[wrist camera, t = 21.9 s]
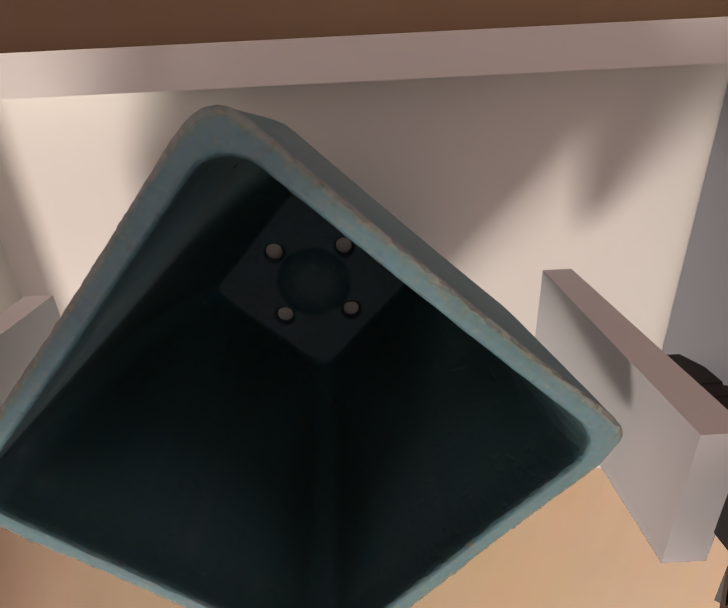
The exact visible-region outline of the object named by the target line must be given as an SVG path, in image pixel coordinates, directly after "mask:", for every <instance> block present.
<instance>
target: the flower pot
mask: <svg viewBox="0 0 728 608" xmlns="http://www.w3.org/2000/svg"><path fill="white" fill-rule="evenodd" d="M343 237H344V238H347V239H349V240H350V242H351V244H352V247H351V249H350V250H349V251H348V252H340V251H339V250H338V249H337V248H336V242H337V240H338V239H340V238H343ZM270 244H277V245H279V246H280V247H281V248H282V256H281V257H280V258H278V259H272V258H270V257H269V256H268V255H267V253H266V248H267V246H268V245H270ZM347 302H356V303H357V304H358V311H357V312H356V313H354V314H348V313H346V312H345V311H344V305H345V304H346V303H347ZM284 307H287V308H290V309H291V310H292V312H293V316H292V318H291V319H289V320H283V319H281V318H280V317H279V316H278V310H279V309H281V308H284ZM622 436H623V433H622V427H621V425H620V424H619V423H618V422H617V420H616V419H615V418H614V417H613V415H612V414H611V413H609V412H608V411H607V410H606V409H605V408H604V407H603V406H602V405H601V404H600V403H599V402H598V401H597V399H596V398H595V397H594V396H593V395H592V394H591V393H590V392H589V391H588V390H587V389H586V388H585V387H584V386H583V385H582V384H581V383H580V382H579V381H578V380H577V379H576V378H575V377H574V376H573V375H572V374H571V373H570V372H569V371H568V370H567V369H566V368H565V367H564V366H563V365H562V364H561V363H560V362H559V361H558V360H557V359H556V358H555V357H554V356H553V355H552V354H551V353H550V352H549V351H548V350H547V349H546V348H545V347H544V346H543V345H542V344H541V343H540V342H539V341H538V340H537V339H536V338H535V337H534V336H533V335H532V334H531V333H530V332H529V331H528V330H527V329H526V328H525V327H524V326H523V324H521V323H520V322H519V321H518V320H517V319H516V318H515V317H514V316H513V315H512V314H511V313H510V312H509V311H508V310H507V309H506V308H505V307H504V306H503V305H501V304H500V303H499V302H498V301H496V300H495V299H494V298H493V297H492V296H490V295H489V294H488V293H487V292H485V291H484V290H483V289H482V288H480V287H479V286H478V285H477V284H476V283H474V282H473V281H472V280H471V279H470V278H468V277H467V276H466V275H465V274H463V273H462V272H461V271H460V270H459V269H457V268H456V267H455V266H454V265H452V264H451V263H450V262H449V261H448V260H446V259H445V258H444V257H443V256H442V255H440V254H439V253H438V252H437V251H436V250H434V249H433V248H432V247H431V246H430V245H428V244H427V243H426V242H425V241H424V240H422V239H421V238H420V237H419V236H417V235H416V234H415V233H414V232H413V231H411V230H410V229H409V228H408V227H407V226H405V225H404V224H403V223H402V222H401V221H400V220H398V219H397V218H396V217H395V216H394V215H392V214H391V213H390V212H389V211H388V210H386V209H385V208H384V207H383V206H382V205H380V204H379V203H378V202H377V201H376V200H374V199H373V198H372V197H371V196H370V195H369V194H367V193H366V192H365V191H364V190H363V189H361V188H360V187H359V186H358V185H357V184H356V183H354V182H353V181H352V180H351V179H350V178H349V177H347V176H346V175H345V174H344V173H343V172H341V171H340V170H339V169H338V168H337V167H336V166H334V165H333V164H332V163H331V162H330V161H328V160H327V159H326V158H325V157H324V156H323V155H321V154H320V153H319V152H318V151H317V150H316V149H314V148H313V147H312V146H311V145H310V144H308V143H307V142H306V141H305V140H304V139H303V138H302V137H300V136H299V135H298V134H297V133H296V132H295V131H293V130H292V129H291V128H289V127H288V126H286V125H285V124H283V123H281V122H278V121H275V120H273V119H270V118H266V117H263V116H259V115H255V114H251V113H247V112H243V111H240V110H236V109H233V108H231V107H228V106H222V105H212V106H206V107H203V108H201V109H200V110H198V111H197V112H195V113H194V114H192V115H191V116H190V117H189V118H188V119H187V120H186V121H185V122H184V123H183V124H182V125H181V127H180V128H179V130H178V131H177V133H176V134H175V135H174V136H173V138H172V139H171V140H170V142H169V143H168V145H167V147H166V149H165V150H164V151H163V153H162V154H161V156H160V158H159V160H158V162H157V163H156V165H155V167H154V168H153V170H152V172H151V173H150V175H149V176H148V178H147V179H146V181H145V182H144V184H143V186H142V187H141V189H140V191H139V192H138V194H137V196H136V198H135V199H134V201H133V202H132V203H131V205H130V207H129V209H128V211H127V212H126V213H125V214H124V216H123V218H122V220H121V221H120V222H119V224H118V226H117V228H116V230H115V232H114V233H113V235H112V236H111V238H110V240H109V241H108V243H107V245H106V246H105V248H104V249H103V251H102V253H101V254H100V255H99V256H98V258H97V260H96V262H95V263H94V265H93V266H92V267H91V270H90V272H89V273H88V275H87V276H86V277H85V279H84V280H83V282H82V284H81V287H80V288H79V289H78V291H77V292H76V293H75V294H74V296H73V298H72V299H71V301H70V303H69V304H68V306H67V307H66V309H65V310H64V312H63V314H62V316H61V317H60V319H59V320H58V321H57V323H56V324H55V325H54V327H53V329H52V331H51V333H50V334H49V336H48V337H47V339H46V340H45V341H44V343H43V344H42V346H41V347H40V349H39V350H38V352H37V354H36V355H35V357H34V358H33V359H32V360H31V362H30V363H29V364H28V366H27V367H26V369H25V371H24V372H23V374H22V376H21V377H20V379H19V380H18V381H17V383H16V384H15V386H14V387H13V389H12V390H11V391H10V393H9V395H8V397H7V398H6V399H5V401H4V403H3V404H2V405H1V407H0V527H1V528H4V529H7V530H9V531H11V532H13V533H14V534H18V535H20V536H21V537H23V538H24V539H26V540H28V541H29V542H32V543H37V544H40V545H42V546H43V547H45V548H47V549H49V550H51V551H54V552H56V553H59V554H62V555H64V556H67V557H69V558H74V559H76V560H79V561H81V562H83V563H85V564H87V565H89V566H92V567H94V568H97V569H99V570H102V571H104V572H107V573H109V574H111V575H113V576H115V577H117V578H119V579H121V580H124V581H126V582H129V583H131V584H133V585H135V586H137V587H140V588H142V589H145V590H148V591H149V592H151V593H153V594H155V595H157V596H160V597H162V598H165V599H167V600H169V601H171V602H173V603H176V604H178V605H181V606H184V607H186V608H410V607H412V606H413V604H414V603H416V602H418V601H419V600H420V599H422V598H423V597H424V596H425V595H427V594H428V593H429V592H431V591H432V590H433V589H434V588H436V587H437V586H439V585H440V584H442V583H443V582H444V581H445V580H446V579H447V578H448V577H450V576H451V575H454V574H455V573H456V572H457V571H458V570H460V569H461V568H462V567H464V566H465V565H466V564H467V562H469V561H470V560H471V559H473V558H474V557H475V556H477V555H478V554H479V553H480V552H482V551H483V550H485V549H486V548H487V547H488V546H489V545H490V544H492V543H493V542H495V541H496V540H497V539H499V538H500V537H501V536H503V535H504V534H505V533H507V532H508V531H509V530H510V529H513V528H515V527H516V526H517V525H518V524H520V523H521V522H522V521H523V520H525V519H526V518H527V517H529V516H530V515H532V514H533V513H534V512H535V511H537V510H538V509H540V508H541V507H543V506H544V505H545V504H546V503H547V502H548V501H550V500H552V499H553V498H554V497H556V496H557V495H559V494H560V493H562V492H563V491H564V490H566V489H567V488H569V487H570V486H572V485H573V484H574V483H576V482H577V481H578V480H580V479H581V478H583V477H584V476H585V475H587V474H588V473H589V472H590V471H591V470H593V469H594V468H596V467H597V466H599V465H600V464H601V463H602V461H603V460H604V459H605V458H606V457H607V456H608V455H609V454H610V452H611V451H612V450H613V449H614V448H615V447H616V446H617V445H618V444H619V442H620V440H621V438H622Z"/></svg>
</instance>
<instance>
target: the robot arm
mask: <svg viewBox="0 0 728 608" xmlns="http://www.w3.org/2000/svg"><path fill="white" fill-rule="evenodd" d="M59 319H60V314H59V311H58V308H57V305H56V302H55V299H54V297H53V295H46V296H27V297H23V298H22V299H20V300H19V301H17V302H16V303H14V304H13V305H12V306H10V307H9V308H7V309H6V310H4V311H3V312H1V313H0V407H1V405H2V404H3V403H4V401H5V399H6V398H7V397H8V395H9V393H10V391H11V390H12V389H13V387H14V386H15V384H16V383H17V381H18V380H19V379H20V377H21V376H22V374H23V372H24V371H25V369H26V367H27V366H28V364H29V363H30V362H31V360H32V359H33V358H34V357H35V355H36V354H37V352H38V350H39V349H40V347H41V346H42V344H43V343H44V341H45V340H46V339H47V337H48V336H49V334H50V333H51V331H52V329H53V327H54V325H55V324H56V323H57V321H58V320H59ZM535 338H536V339H537V340H538V341H539V342H540V343H541V344H542V345H543V346H544V347H545V348H546V349H547V350H548V351H549V352H550V353H551V354H552V355H553V356H554V357H555V358H556V359H557V360H558V361H559V362H560V363H561V364H562V365H563V366H564V367H565V368H566V369H567V370H568V371H569V372H570V373H571V374H572V375H573V376H574V377H575V378H576V379H577V380H578V381H579V382H580V383H581V384H582V385H583V386H584V387H585V388H586V389H587V390H588V391H589V392H590V393H591V394H592V395H593V396H594V397H595V398H596V399H597V401H598V402H599V403H600V404H601V405H602V406H603V407H604V408H605V409H606V410H607V411H608V412H609V413H611V414H612V415H613V417H614V418H615V419H616V420H617V422H618V423H619V424H620V425H621V427H622V433H623V436H622V438H621V440H620V442H619V444H618V445H617V446H616V447H615V448H614V449H613V450H612V451H611V452H610V454H609V455H608V456H607V457H606V458H605V459H604V460H603V461H602V463H601V464H600V466H601V468H602V470H603V471H604V473H605V474H606V476H607V478H608V479H609V481H610V482H611V484H612V486H613V487H614V489H615V490H616V492H617V493H618V495H619V497H620V498H621V500H622V501H623V503H624V505H625V506H626V508H627V509H628V511H629V513H630V514H631V516H632V517H633V519H634V521H635V522H636V524H637V525H638V527H639V528H640V530H641V532H642V533H643V535H644V536H645V538H646V540H647V541H648V543H649V544H650V546H651V548H652V549H653V551H654V552H655V554H656V556H657V557H658V559H659V560H660V562H661V563H670V562H690V561H706V559H707V557H708V554H709V551H710V548H711V546H712V543H713V540H714V537H715V535H716V536H717V537H718V539H719V540H720V541H721V542H722V544H723V545H724V546H725V547H726V549H727V550H728V386H727V385H723V382H722V381H721V380H720V379H719V378H717V377H716V376H715V375H714V374H713V373H712V372H710V371H709V370H708V369H707V368H706V367H704V366H702V365H700V364H698V363H696V362H694V361H692V360H690V359H688V358H686V357H684V356H682V355H680V354H671V355H666V354H665V353H664V352H663V351H662V350H661V349H660V348H659V347H658V346H657V345H655V344H654V343H653V342H652V341H651V340H650V339H649V338H648V337H647V336H645V335H644V334H643V333H642V332H641V331H640V330H639V329H638V328H637V327H635V326H634V325H633V324H632V323H631V322H630V321H629V320H628V319H627V318H625V317H624V316H623V315H622V314H621V313H620V312H619V311H618V310H617V309H616V308H614V307H613V306H612V305H611V304H610V303H609V302H608V301H607V300H606V299H604V298H603V297H602V296H601V295H600V294H599V293H598V292H597V291H596V290H594V289H593V288H592V287H591V286H590V285H589V284H588V283H587V282H586V281H584V280H583V279H582V278H581V277H580V276H579V275H578V274H577V273H576V272H575V271H573V270H572V269H555V270H543V273H542V282H541V290H540V299H539V307H538V316H537V325H536V333H535ZM714 600H715V601H717V602H719V603H720V608H728V566H727V569H726V571H725V574H724V576H723V579H722V582H721V584H720V587H719V589H718V592H717V594H716V597H715V599H714Z"/></svg>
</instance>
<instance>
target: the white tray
mask: <svg viewBox="0 0 728 608" xmlns="http://www.w3.org/2000/svg"><path fill="white" fill-rule="evenodd" d="M727 85H728V17H708V18H688V19H668V20H649V21H629V22H609V23H589V24H570V25H550V26H530V27H511V28H491V29H471V30H451V31H432V32H412V33H392V34H373V35H353V36H333V37H313V38H294V39H274V40H254V41H235V42H215V43H195V44H175V45H156V46H136V47H116V48H96V49H77V50H57V51H37V52H18V53H0V313H1V312H3V311H4V310H6V309H7V308H9V307H10V306H12V305H13V304H14V303H16V302H17V301H19V300H20V299H22V298H23V297H27V296H46V295H53V297H54V299H55V302H56V305H57V308H58V311H59V314H60V317H61V316H62V314H63V312H64V310H65V309H66V307H67V306H68V304H69V303H70V301H71V299H72V298H73V296H74V294H75V293H76V292H77V291H78V289H79V288H80V287H81V284H82V282H83V280H84V279H85V277H86V276H87V275H88V273H89V272H90V270H91V267H92V266H93V265H94V263H95V262H96V260H97V258H98V256H99V255H100V254H101V253H102V251H103V249H104V248H105V246H106V245H107V243H108V241H109V240H110V238H111V236H112V235H113V233H114V232H115V230H116V228H117V226H118V224H119V222H120V221H121V220H122V218H123V216H124V214H125V213H126V212H127V211H128V209H129V207H130V205H131V203H132V202H133V201H134V199H135V198H136V196H137V194H138V192H139V191H140V189H141V187H142V186H143V184H144V182H145V181H146V179H147V178H148V176H149V175H150V173H151V172H152V170H153V168H154V167H155V165H156V163H157V162H158V160H159V158H160V156H161V154H162V153H163V151H164V150H165V149H166V147H167V145H168V143H169V142H170V140H171V139H172V138H173V136H174V135H175V134H176V133H177V131H178V130H179V128H180V127H181V125H182V124H183V123H184V122H185V121H186V120H187V119H188V118H189V117H190V116H191V115H192V114H194V113H195V112H197V111H198V110H200V109H201V108H203V107H206V106H212V105H222V106H228V107H231V108H233V109H236V110H240V111H243V112H247V113H251V114H255V115H259V116H263V117H266V118H270V119H273V120H275V121H278V122H281V123H283V124H285V125H286V126H288V127H289V128H291V129H292V130H293V131H295V132H296V133H297V134H298V135H299V136H300V137H302V138H303V139H304V140H305V141H306V142H307V143H308V144H310V145H311V146H312V147H313V148H314V149H316V150H317V151H318V152H319V153H320V154H321V155H323V156H324V157H325V158H326V159H327V160H328V161H330V162H331V163H332V164H333V165H334V166H336V167H337V168H338V169H339V170H340V171H341V172H343V173H344V174H345V175H346V176H347V177H349V178H350V179H351V180H352V181H353V182H354V183H356V184H357V185H358V186H359V187H360V188H361V189H363V190H364V191H365V192H366V193H367V194H369V195H370V196H371V197H372V198H373V199H374V200H376V201H377V202H378V203H379V204H380V205H382V206H383V207H384V208H385V209H386V210H388V211H389V212H390V213H391V214H392V215H394V216H395V217H396V218H397V219H398V220H400V221H401V222H402V223H403V224H404V225H405V226H407V227H408V228H409V229H410V230H411V231H413V232H414V233H415V234H416V235H417V236H419V237H420V238H421V239H422V240H424V241H425V242H426V243H427V244H428V245H430V246H431V247H432V248H433V249H434V250H436V251H437V252H438V253H439V254H440V255H442V256H443V257H444V258H445V259H446V260H448V261H449V262H450V263H451V264H452V265H454V266H455V267H456V268H457V269H459V270H460V271H461V272H462V273H463V274H465V275H466V276H467V277H468V278H470V279H471V280H472V281H473V282H474V283H476V284H477V285H478V286H479V287H480V288H482V289H483V290H484V291H485V292H487V293H488V294H489V295H490V296H492V297H493V298H494V299H495V300H496V301H498V302H499V303H500V304H501V305H503V306H504V307H505V308H506V309H507V310H508V311H509V312H510V313H511V314H512V315H513V316H514V317H515V318H516V319H517V320H518V321H519V322H520V323H521V324H523V326H524V327H525V328H526V329H527V330H528V331H529V332H530V333H531V334H532V335H533V336H534V337H535V333H536V325H537V316H538V307H539V299H540V290H541V282H542V273H543V270H555V269H572V270H573V271H575V272H576V273H577V274H578V275H579V276H580V277H581V278H582V279H583V280H584V281H586V282H587V283H588V284H589V285H590V286H591V287H592V288H593V289H594V290H596V291H597V292H598V293H599V294H600V295H601V296H602V297H603V298H604V299H606V300H607V301H608V302H609V303H610V304H611V305H612V306H613V307H614V308H616V309H617V310H618V311H619V312H620V313H621V314H622V315H623V316H624V317H625V318H627V319H628V320H629V321H630V322H631V323H632V324H633V325H634V326H635V327H637V328H638V329H639V330H640V331H641V332H642V333H643V334H644V335H645V336H647V337H648V338H649V339H650V340H651V341H652V342H653V343H654V344H655V345H657V346H658V347H659V348H660V349H661V350H663V346H664V342H665V338H666V334H667V330H668V325H669V321H670V317H671V313H672V309H673V305H674V301H675V297H676V293H677V289H678V285H679V281H680V277H681V273H682V268H683V264H684V260H685V256H686V252H687V248H688V244H689V240H690V236H691V232H692V228H693V224H694V220H695V216H696V211H697V207H698V203H699V199H700V195H701V191H702V187H703V183H704V179H705V175H706V171H707V167H708V163H709V159H710V154H711V150H712V146H713V142H714V138H715V134H716V130H717V126H718V122H719V118H720V114H721V110H722V106H723V102H724V97H725V93H726V89H727ZM351 247H352V244H351V242H350V240H349V239H347V238H344V237H343V238H340V239H338V240H337V242H336V248H337V249H338V250H339V251H340V252H348V251H349V250H350V249H351ZM266 253H267V255H268V256H269V257H270V258H272V259H278V258H280V257H281V256H282V248H281V247H280V246H279V245H277V244H270V245H268V246H267V248H266ZM344 311H345V312H346V313H348V314H354V313H356V312H357V311H358V304H357V303H356V302H347V303H346V304H345V305H344ZM278 316H279V317H280V318H281V319H283V320H289V319H291V318H292V316H293V312H292V310H291V309H290V308H287V307H284V308H281V309H279V310H278ZM596 468H601V466H600V465H599V466H597V467H596Z"/></svg>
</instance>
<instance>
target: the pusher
mask: <svg viewBox="0 0 728 608" xmlns="http://www.w3.org/2000/svg"><path fill="white" fill-rule="evenodd" d="M662 351H663V352H664V353H665V354H666V355H671V354H680V355H682V356H684V357H686V358H688V359H690V360H692V361H694V362H696V363H698V364H700V365H702V366H704V367H706V368H707V369H708V370H709V371H710V372H712V373H713V374H714V375H715V376H716V377H717V378H719V379H720V380H721V381H722V382H723V385H727V386H728V85H727V89H726V93H725V97H724V102H723V106H722V110H721V114H720V118H719V122H718V126H717V130H716V134H715V138H714V142H713V146H712V150H711V154H710V159H709V163H708V167H707V171H706V175H705V179H704V183H703V187H702V191H701V195H700V199H699V203H698V207H697V211H696V216H695V220H694V224H693V228H692V232H691V236H690V240H689V244H688V248H687V252H686V256H685V260H684V264H683V268H682V273H681V277H680V281H679V285H678V289H677V293H676V297H675V301H674V305H673V309H672V313H671V317H670V321H669V325H668V330H667V334H666V338H665V342H664V346H663V350H662Z"/></svg>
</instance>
